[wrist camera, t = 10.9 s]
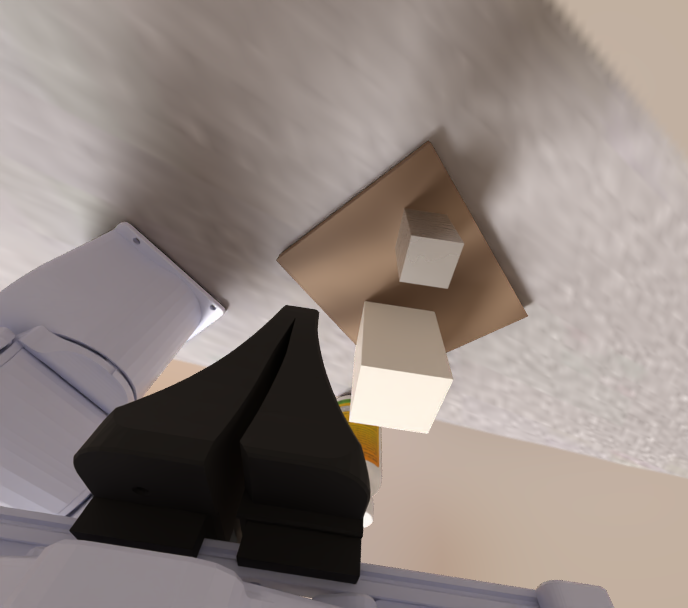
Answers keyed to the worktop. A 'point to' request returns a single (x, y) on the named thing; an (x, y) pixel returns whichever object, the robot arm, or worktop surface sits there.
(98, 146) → the worktop surface
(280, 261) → the board
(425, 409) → the cream rectangular block
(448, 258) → the post
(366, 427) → the supplement bottle
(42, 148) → the worktop surface
